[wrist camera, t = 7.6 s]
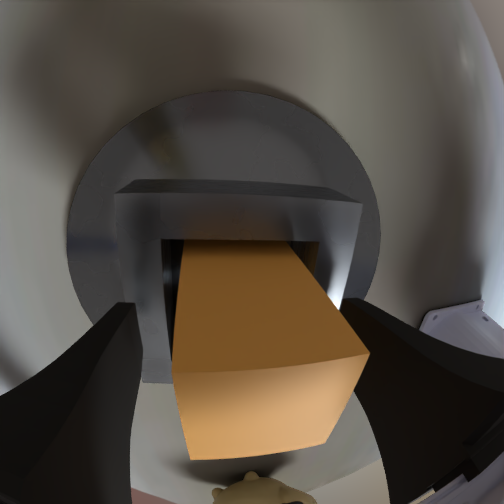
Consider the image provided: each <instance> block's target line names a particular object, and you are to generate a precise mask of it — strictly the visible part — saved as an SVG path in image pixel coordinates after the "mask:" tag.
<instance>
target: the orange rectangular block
mask: <svg viewBox="0 0 504 504" xmlns="http://www.w3.org/2000/svg"><path fill="white" fill-rule="evenodd" d="M369 355H370V352H369V351H368V350H367V348H366V347H365V345H364V344H363V343H362V341H361V340H360V338H359V337H358V336H357V334H356V333H355V332H354V330H353V329H352V328H351V326H350V325H349V323H348V322H347V321H346V319H345V318H344V317H343V315H342V314H341V313H340V311H339V310H338V309H337V307H336V306H335V305H334V303H333V302H332V301H331V299H330V298H329V297H328V295H327V294H326V293H325V291H324V290H323V289H322V287H321V286H320V285H319V283H318V282H317V281H316V279H315V278H314V277H313V276H312V274H311V273H310V272H309V270H308V269H307V268H306V266H305V265H304V264H303V263H302V261H301V260H300V259H299V257H298V256H297V255H296V254H295V252H294V251H293V250H292V248H291V247H290V246H289V245H288V243H287V242H286V241H276V240H214V239H185V240H184V247H183V254H182V262H181V270H180V278H179V287H178V296H177V306H176V316H175V328H174V340H173V354H172V371H171V373H172V379H173V384H174V389H175V395H176V400H177V404H178V409H179V414H180V419H181V423H182V427H183V432H184V436H185V440H186V444H187V448H188V452H189V455H190V459H191V460H208V459H227V458H240V457H250V456H259V455H266V454H273V453H280V452H286V451H291V450H296V449H302V448H306V447H311V446H315V445H320V444H324V443H325V442H326V440H327V438H328V437H329V435H330V433H331V432H332V430H333V428H334V426H335V424H336V423H337V421H338V419H339V417H340V415H341V413H342V412H343V410H344V408H345V406H346V404H347V402H348V400H349V398H350V396H351V394H352V392H353V390H354V388H355V386H356V384H357V382H358V379H359V377H360V375H361V373H362V371H363V369H364V366H365V364H366V362H367V359H368V357H369Z"/></svg>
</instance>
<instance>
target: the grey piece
mask: <svg viewBox="0 0 504 504" xmlns="http://www.w3.org/2000/svg"><path fill="white" fill-rule="evenodd" d="M380 236H381V232H380V216H379V211H378V206H377V201H376V196H375V193H374V191H373V188H372V185H371V182H370V179H369V177H368V175H367V173H366V171H365V169H364V168H363V166H362V164H361V162H360V160H359V159H358V157H357V156H356V155H355V153H354V152H353V151H352V149H351V148H350V147H349V145H348V144H347V143H346V142H345V141H344V140H343V139H342V138H341V137H340V136H339V135H338V134H337V133H336V132H335V131H334V130H333V129H332V128H331V127H330V126H328V125H327V124H326V123H324V122H323V121H322V120H320V119H319V118H318V117H316V116H315V115H313V114H312V113H310V112H308V111H306V110H304V109H302V108H300V107H298V106H296V105H294V104H292V103H290V102H287V101H284V100H281V99H278V98H275V97H272V96H269V95H264V94H258V93H252V92H246V91H211V92H204V93H198V94H191V95H188V96H184V97H181V98H178V99H175V100H172V101H168V102H166V103H163V104H161V105H159V106H157V107H155V108H153V109H151V110H149V111H147V112H145V113H143V114H142V115H140V116H139V117H137V118H136V119H134V120H133V121H131V122H130V123H129V124H127V125H126V126H125V127H123V128H122V129H121V130H120V131H119V132H117V133H116V134H115V135H114V136H113V137H112V138H111V139H110V140H109V141H108V142H107V143H106V144H105V145H104V146H103V148H102V149H101V150H100V151H99V153H98V154H97V155H96V157H95V158H94V160H93V161H92V162H91V164H90V165H89V167H88V168H87V170H86V172H85V174H84V176H83V178H82V180H81V182H80V184H79V186H78V188H77V191H76V194H75V197H74V200H73V203H72V206H71V210H70V215H69V221H68V227H67V258H68V266H69V271H70V275H71V279H72V283H73V286H74V289H75V292H76V294H77V296H78V299H79V301H80V303H81V306H82V307H83V309H84V311H85V312H86V314H87V316H88V317H89V319H90V321H91V322H92V323H93V325H95V324H96V323H97V322H98V321H99V320H100V319H101V318H102V317H103V316H104V315H105V314H106V313H107V312H108V311H109V310H110V309H111V308H112V307H113V306H114V305H115V304H116V303H117V302H132V303H135V305H136V311H137V317H138V323H139V329H140V334H141V340H142V345H143V361H142V372H141V378H142V381H143V383H167V384H173V379H172V373H171V371H172V354H173V340H174V328H175V316H176V306H177V296H178V287H179V278H180V270H181V262H182V254H183V247H184V240H185V239H214V240H276V241H286V242H287V243H288V245H289V246H290V247H291V248H292V250H293V251H294V252H295V254H296V255H297V256H298V257H299V259H300V260H301V261H302V263H303V264H304V265H305V266H306V268H307V269H308V270H309V272H310V273H311V274H312V276H313V277H314V278H315V279H316V281H317V282H318V283H319V285H320V286H321V287H322V289H323V290H324V291H325V293H326V294H327V295H328V297H329V298H330V299H331V301H332V302H333V303H334V305H335V306H336V307H337V309H338V310H339V311H340V308H341V305H342V301H343V298H356V297H357V298H360V299H362V300H364V298H365V296H366V294H367V292H368V290H369V288H370V285H371V282H372V279H373V276H374V273H375V270H376V266H377V261H378V256H379V250H380Z"/></svg>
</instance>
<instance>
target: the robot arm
mask: <svg viewBox="0 0 504 504" xmlns="http://www.w3.org/2000/svg"><path fill="white" fill-rule="evenodd" d="M484 304H485V302H484V301H483V300H479V301H475V302H470V303H466V304H462V305H457V306H452V307H448V308H443V309H438V310H433V311H429V312H428V313H427V314H426V315H425V317H424V320H423V322H422V324H421V327H420V329H419V330H418V329H416V328H414V327H412V326H410V325H408V324H406V323H404V322H403V321H401V320H399V319H397V318H396V317H394V316H392V315H390V314H388V313H387V312H385V311H383V310H381V309H380V308H378V307H376V306H374V305H372V304H370V303H368V302H366V301H364V300H362V299H360V298H357V297H356V298H343V301H342V305H341V308H340V313H341V314H342V315H343V317H344V318H345V319H346V321H347V322H348V323H349V325H350V326H351V328H352V329H353V330H354V332H355V333H356V334H357V336H358V337H359V338H360V340H361V341H362V343H363V344H364V345H365V347H366V348H367V350H368V351H369V352H370V355H369V357H368V359H367V362H366V364H365V366H364V369H363V371H362V373H361V375H360V377H359V379H358V382H357V384H356V386H355V388H354V390H353V391H354V392H355V394H356V396H357V398H358V400H359V401H360V403H361V405H362V407H363V409H364V411H365V413H366V415H367V417H368V420H369V422H370V425H371V428H372V430H373V433H374V436H375V439H376V442H377V445H378V448H379V451H380V454H381V458H382V462H383V466H384V470H385V474H386V479H387V484H388V490H389V498H390V504H410V503H412V502H414V501H415V500H417V499H419V498H420V497H422V496H424V495H425V494H427V493H429V492H430V491H432V490H433V489H434V491H435V493H434V494H432V495H431V496H429V497H428V498H426V499H424V500H423V501H421V502H420V503H418V504H504V329H503V328H502V327H501V326H500V325H498V324H497V323H496V322H495V321H494V320H493V319H491V318H490V317H489V316H488V315H487V314H485V313H484V312H483V311H482V309H483V307H484ZM142 361H143V345H142V340H141V334H140V329H139V323H138V317H137V311H136V305H135V303H132V302H117V303H116V304H115V305H114V306H113V307H112V308H111V309H110V310H109V311H108V312H107V313H106V314H105V315H104V316H103V317H102V318H101V319H100V320H99V321H98V322H97V323H96V324H95V325H93V326H92V327H91V328H90V329H89V330H88V331H87V332H86V333H85V334H84V335H83V336H82V337H81V338H80V339H79V340H78V341H76V342H75V343H74V344H73V345H72V346H71V347H70V348H69V349H68V350H66V351H65V352H64V353H63V354H62V355H61V356H60V357H58V358H57V359H56V360H55V361H53V362H52V363H51V364H49V365H48V366H47V367H45V368H44V369H43V370H41V371H40V372H39V373H37V374H36V375H34V376H33V377H31V378H30V379H28V380H26V381H25V382H23V383H22V384H20V385H18V386H17V387H15V388H14V389H12V390H10V391H8V392H7V393H5V394H3V395H1V396H0V504H132V499H131V486H130V436H131V427H132V421H133V416H134V410H135V405H136V399H137V394H138V389H139V384H140V379H141V372H142Z"/></svg>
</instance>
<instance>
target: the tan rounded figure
mask: <svg viewBox="0 0 504 504" xmlns="http://www.w3.org/2000/svg"><path fill="white" fill-rule="evenodd" d="M212 496H213V498H214V502H213V504H317V502H316V500H315V499H314V498H313V497H312V496H311V495H309V494H307V493H304V492H302V491H299V490H297V489H294V488H291V487H289V486H287V485H285V484H284V483H282V482H280V481H278V480H276V479H272V478H267V477H259V476H258V475H257V473H255V472H253V471H250V472H247V473H246V475H245V477H244V480H242V481H239V482H237V483H234V484H232V485H230V486H229V487H227V488H226V489H221V488H215V489H213V490H212Z"/></svg>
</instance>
